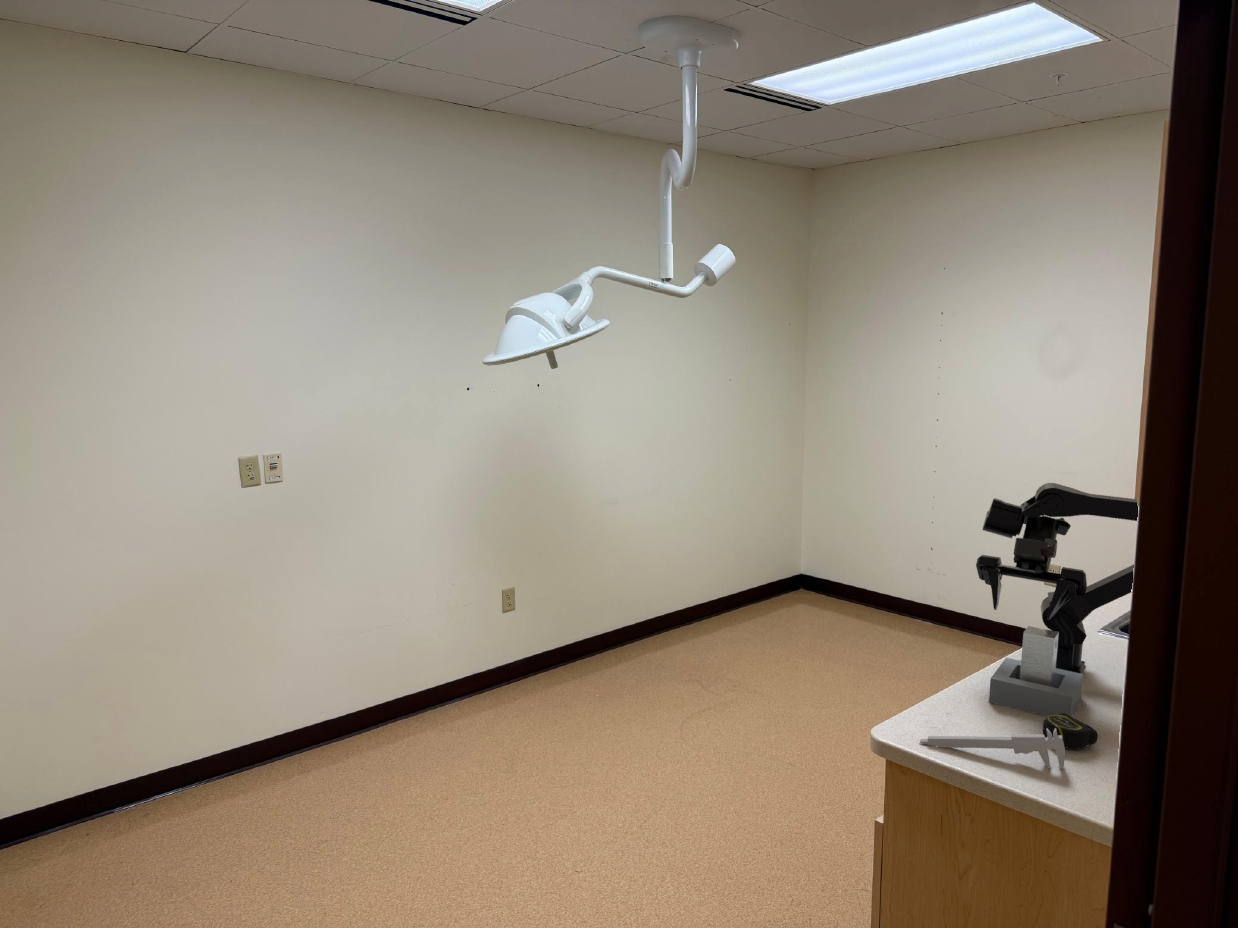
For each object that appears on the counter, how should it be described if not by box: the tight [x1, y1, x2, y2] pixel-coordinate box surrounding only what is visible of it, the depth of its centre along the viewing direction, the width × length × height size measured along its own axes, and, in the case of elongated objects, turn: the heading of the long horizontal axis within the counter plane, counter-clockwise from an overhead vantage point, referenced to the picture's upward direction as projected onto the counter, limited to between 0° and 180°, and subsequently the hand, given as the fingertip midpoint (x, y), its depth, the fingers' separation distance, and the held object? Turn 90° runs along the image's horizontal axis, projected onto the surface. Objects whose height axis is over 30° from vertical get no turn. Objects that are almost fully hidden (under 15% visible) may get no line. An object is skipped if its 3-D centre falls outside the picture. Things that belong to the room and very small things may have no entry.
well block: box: [988, 657, 1084, 717], centre depth 152 cm, size 12×13×4 cm
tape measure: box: [1042, 713, 1099, 750], centre depth 136 cm, size 7×7×4 cm
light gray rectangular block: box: [1020, 625, 1059, 687], centre depth 151 cm, size 4×5×12 cm
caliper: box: [919, 728, 1066, 770], centre depth 132 cm, size 21×1×6 cm, turn 67°
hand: (1021, 613), depth 158 cm, fingers open, 9 cm apart
